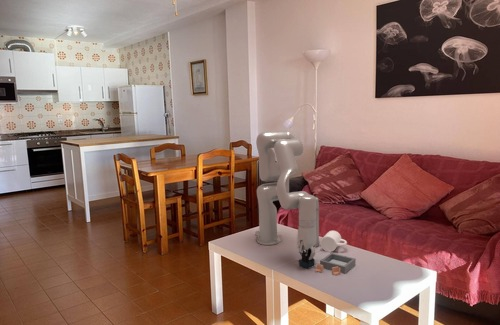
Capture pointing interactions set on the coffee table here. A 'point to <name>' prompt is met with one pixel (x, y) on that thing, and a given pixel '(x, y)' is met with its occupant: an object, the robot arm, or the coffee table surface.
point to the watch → (311, 261)
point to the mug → (332, 241)
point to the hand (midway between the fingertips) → (307, 261)
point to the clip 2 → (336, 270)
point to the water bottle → (317, 222)
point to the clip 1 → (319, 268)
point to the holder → (338, 262)
